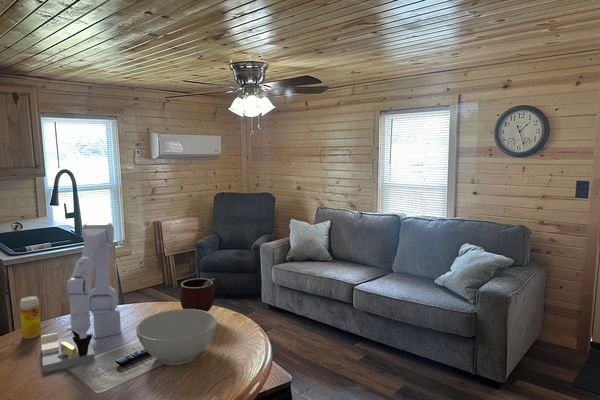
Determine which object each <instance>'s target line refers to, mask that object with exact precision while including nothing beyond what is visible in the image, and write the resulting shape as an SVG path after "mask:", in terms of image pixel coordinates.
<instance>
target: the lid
mask: <svg viewBox="0 0 600 400" xmlns="http://www.w3.org/2000/svg"><path fill="white" fill-rule="evenodd" d="M58 337H59V336H58V332H53V333H47V334H44V335H40V341H41V342H40V343H41V356H42V355H44V354H48V353H53V352H57V351H59V344H58V339H59V338H58Z"/></svg>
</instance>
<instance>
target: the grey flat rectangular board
mask: <svg viewBox="0 0 600 400" xmlns="http://www.w3.org/2000/svg"><path fill="white" fill-rule="evenodd" d="M86 334H87V335H89V333H88V332H87V333H86ZM73 337H75V336H74V335H73V336H69V337H63V338H58V344H59V351H57V352H53V353H48V354H44V355H42V354H41V357H42V359H41V361H42V373H43V374H45V373H50V372H53V371H57V370H62V369H66V368H70V367H74V366H78V364H79V365H83V364H87V363H91V362H95V361H96V357H95V351H94V348H93V345H92V341H91V340H90V343H89V346H88V353H87V355H86V356H82V357H80V356H79V352H78V348H77V346H76V344H75V342H74V341H73ZM64 341H65V342H67V343H69V344H70V345H72V346H74V347H75V348H76V350H77V358H74V359H72V358H70V357H69V356H62V352H61V342H64Z"/></svg>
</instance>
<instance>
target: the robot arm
mask: <svg viewBox="0 0 600 400" xmlns="http://www.w3.org/2000/svg"><path fill="white" fill-rule="evenodd" d="M81 235H82V239H83V242H84V244H83V249H82V252H81V253H82V254H81V257H79V258H78V259H77V260H76V263H75V265H74V268H73V272H72V275H71V278H69V279H68V280H67V281H66V283H65V288H64V289H65V290H64V291H65V294H66V296H67V301H69V315H70V325H67V326H66V329H67V331H71V333H72V334H73V336H75V337H73V336H72V337H73V341H74V342H75V344H76V346H77V348H78V352H79V356H80V357H82V356H86V355H87V353H88V346H89V343H90V341H91V340H92V338H94V339H101V338H105V337H109V336H114V335H118V334H122V330H121V329H122V328H121V327H122V326H121V325H122V324H121V312H120V310H119V308H117V307H118V305H119V297H118V290H117V289H115V288H114V287H112V286H111V285H110V244H113V243H114V241H115V228H114V225H113V224H112V222H106V223H105V222H100V223H98V222H95V223H91V222H90V223H89V222H85V223H84V224H83V225H82V228H81ZM94 257H95V262H94ZM94 268H95V287H94V288H93V289H92V275H93V272H94ZM90 312H91V314H92V316H93V318H92V319H93V330H91V333H90V334H88V335H87V333H88V331H89V329H90V328H91V326H92V324H91V316H90V315H91V314H90Z"/></svg>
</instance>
